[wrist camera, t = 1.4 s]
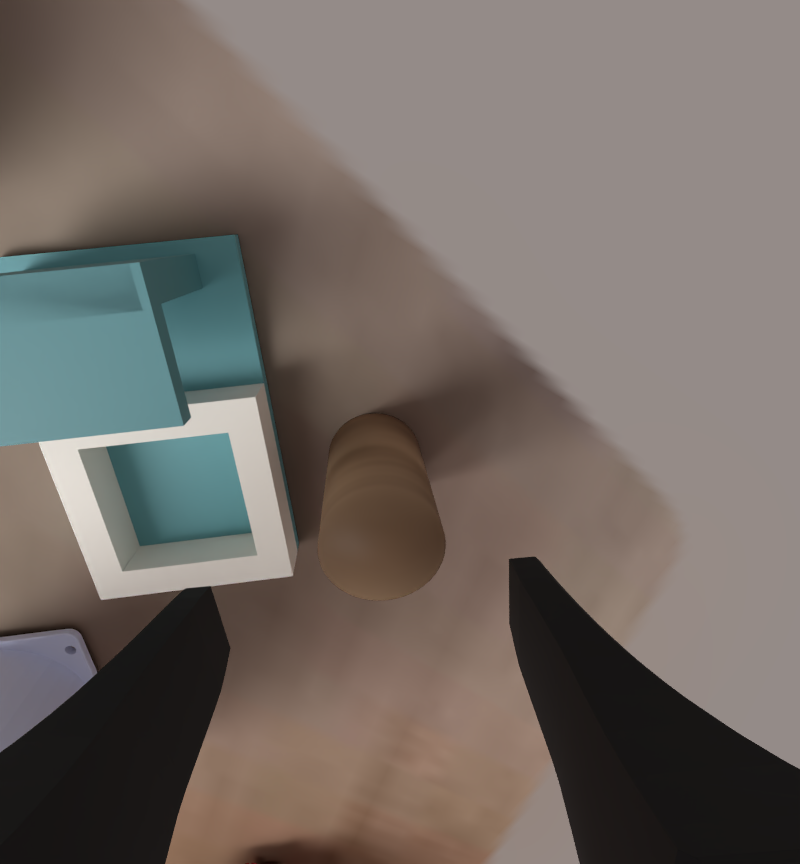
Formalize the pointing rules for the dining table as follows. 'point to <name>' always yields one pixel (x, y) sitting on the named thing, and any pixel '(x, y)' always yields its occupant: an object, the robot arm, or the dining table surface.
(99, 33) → the dining table surface
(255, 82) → the dining table surface
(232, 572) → the station
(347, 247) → the dining table surface
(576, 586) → the dining table surface
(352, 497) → the peg
